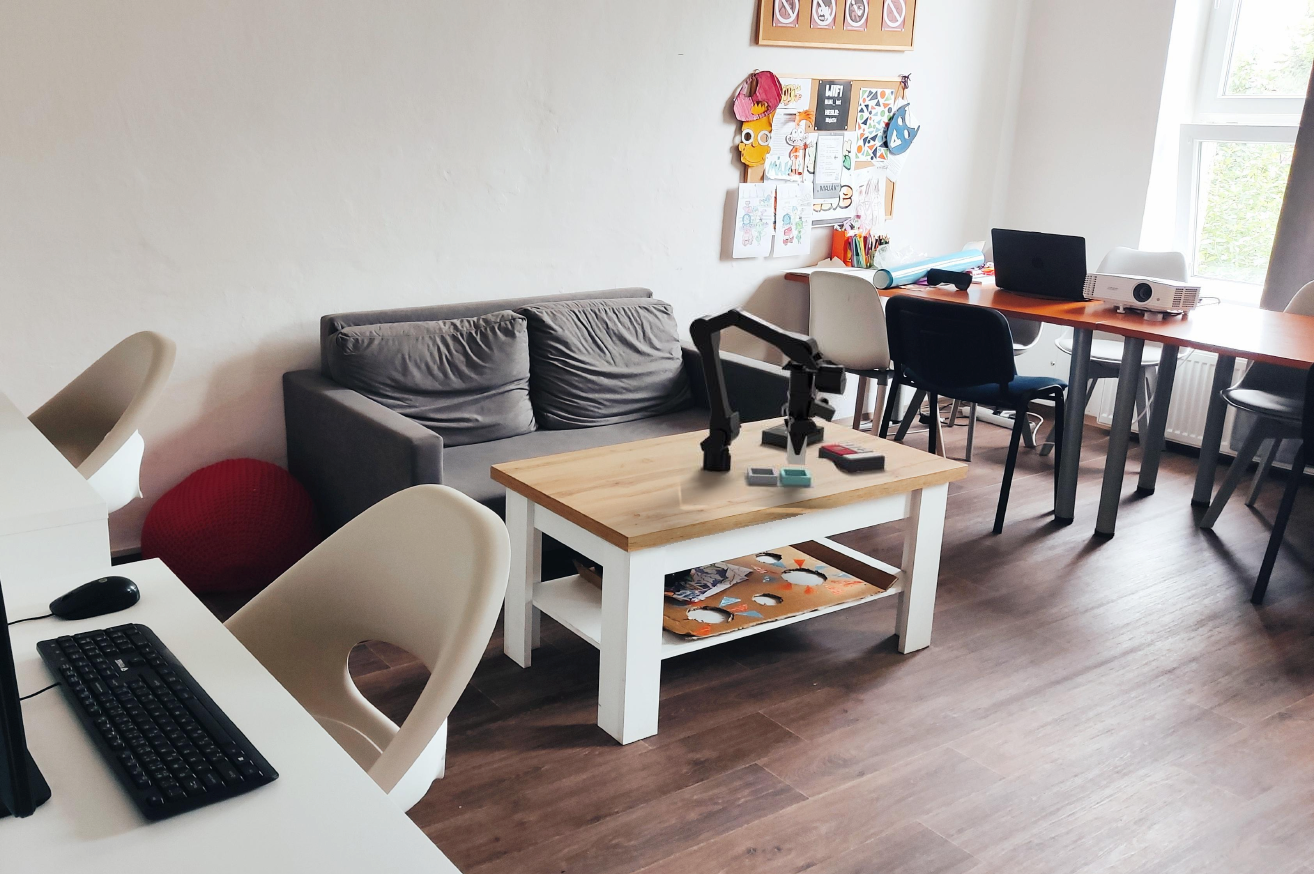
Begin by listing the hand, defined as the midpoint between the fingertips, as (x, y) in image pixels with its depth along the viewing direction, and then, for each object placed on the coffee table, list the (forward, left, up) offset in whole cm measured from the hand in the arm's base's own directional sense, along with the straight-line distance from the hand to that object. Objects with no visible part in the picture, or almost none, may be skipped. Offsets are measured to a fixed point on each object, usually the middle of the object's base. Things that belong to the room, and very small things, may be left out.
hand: (796, 452), depth 264 cm
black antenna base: (+6, +41, -9) cm, 42 cm away
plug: (0, 0, -3) cm, 2 cm away
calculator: (+17, +20, -9) cm, 28 cm away
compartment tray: (-4, 0, -8) cm, 9 cm away
